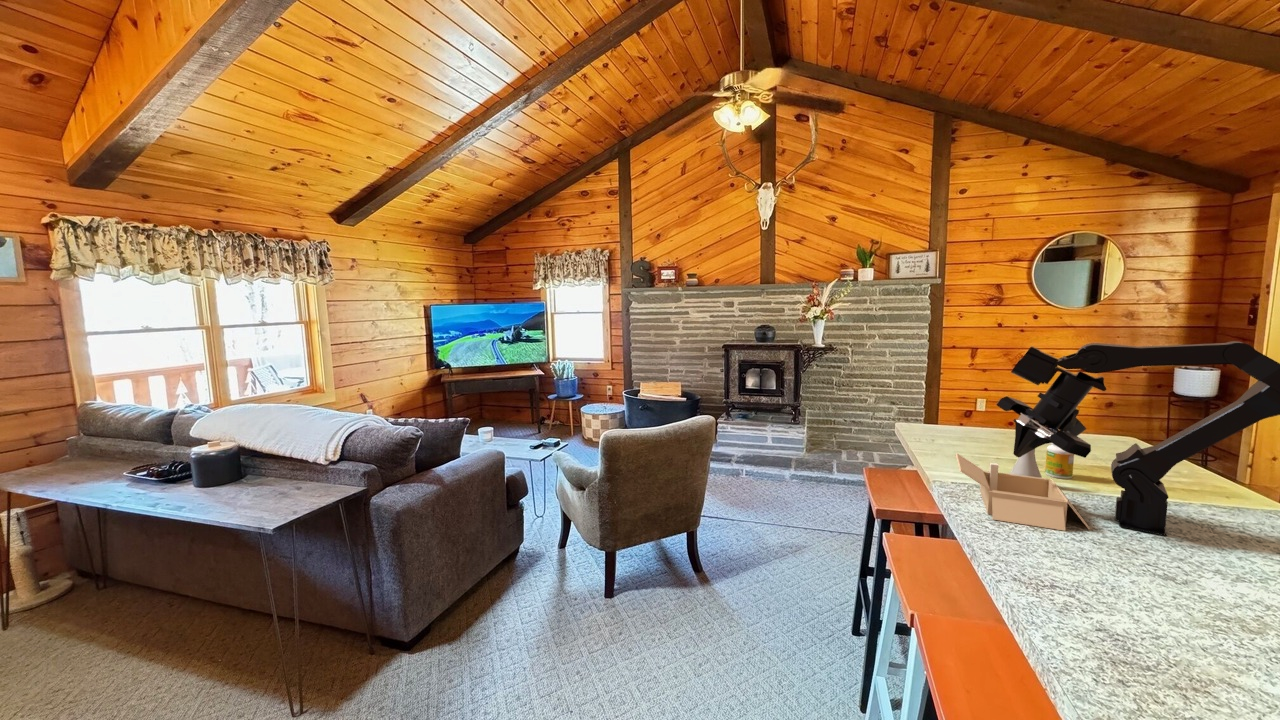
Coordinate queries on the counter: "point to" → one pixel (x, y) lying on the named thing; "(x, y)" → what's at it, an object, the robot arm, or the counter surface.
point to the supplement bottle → (1059, 462)
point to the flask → (1026, 465)
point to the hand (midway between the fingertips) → (1016, 455)
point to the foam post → (993, 476)
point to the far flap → (972, 471)
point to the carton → (1027, 501)
